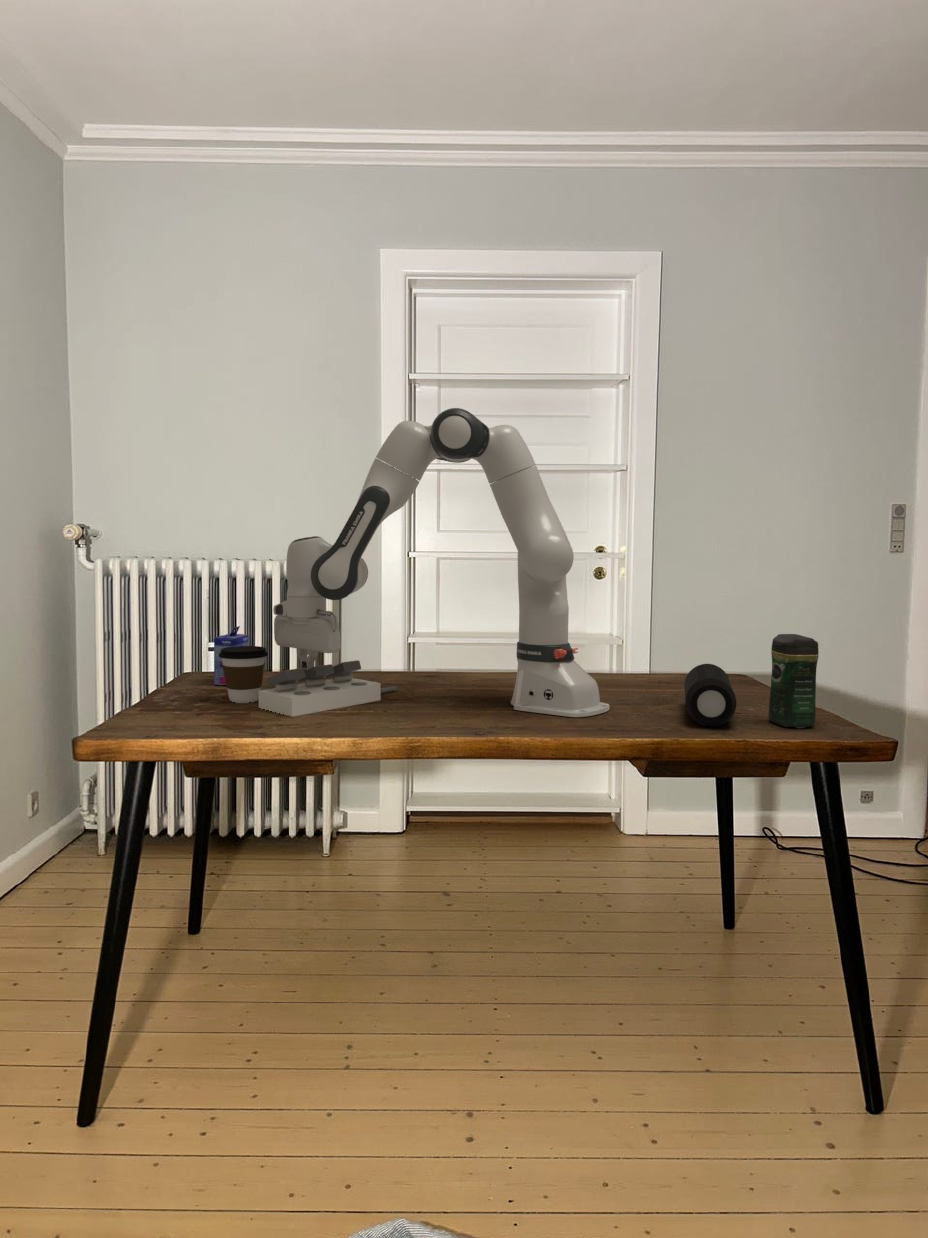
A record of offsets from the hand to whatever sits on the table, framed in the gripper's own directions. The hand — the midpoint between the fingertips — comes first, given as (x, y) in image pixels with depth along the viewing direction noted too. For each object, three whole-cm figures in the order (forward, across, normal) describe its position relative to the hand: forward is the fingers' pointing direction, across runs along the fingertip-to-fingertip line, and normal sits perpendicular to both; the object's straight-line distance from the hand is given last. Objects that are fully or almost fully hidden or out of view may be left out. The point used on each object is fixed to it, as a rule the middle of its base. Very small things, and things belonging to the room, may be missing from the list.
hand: (307, 668), depth 201 cm
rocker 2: (+1, -3, 0) cm, 3 cm away
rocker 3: (+1, -3, -8) cm, 9 cm away
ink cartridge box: (+8, +33, -1) cm, 34 cm away
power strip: (+8, -5, -5) cm, 10 cm away
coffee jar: (+8, -90, -55) cm, 105 cm away
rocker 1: (+1, -3, +8) cm, 9 cm away
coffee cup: (+8, +11, +10) cm, 16 cm away
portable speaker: (+8, -74, -50) cm, 89 cm away
